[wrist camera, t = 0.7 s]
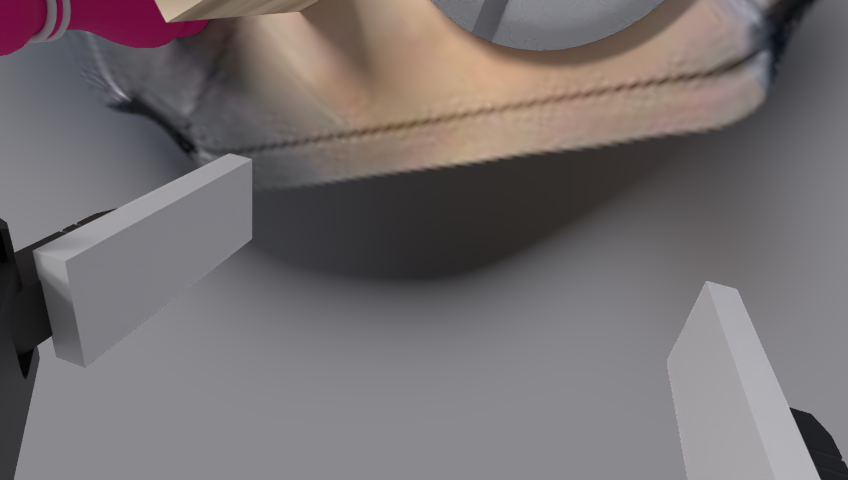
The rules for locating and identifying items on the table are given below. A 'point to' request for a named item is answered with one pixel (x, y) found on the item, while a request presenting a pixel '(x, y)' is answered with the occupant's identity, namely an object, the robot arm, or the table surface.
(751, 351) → the robot arm
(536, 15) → the rosette plate
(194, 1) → the wedge pin
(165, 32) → the pepper mill
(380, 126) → the table surface
